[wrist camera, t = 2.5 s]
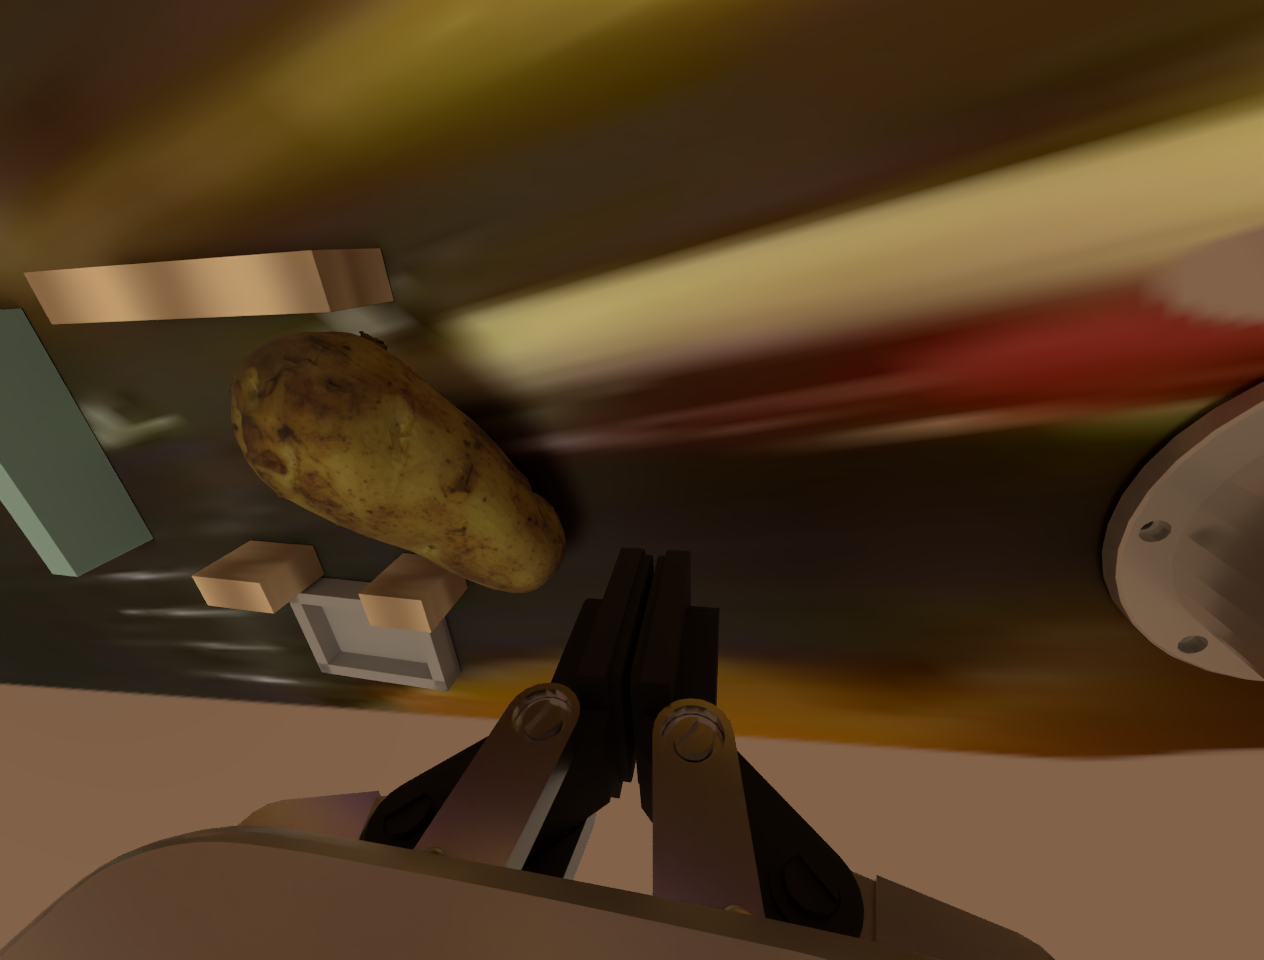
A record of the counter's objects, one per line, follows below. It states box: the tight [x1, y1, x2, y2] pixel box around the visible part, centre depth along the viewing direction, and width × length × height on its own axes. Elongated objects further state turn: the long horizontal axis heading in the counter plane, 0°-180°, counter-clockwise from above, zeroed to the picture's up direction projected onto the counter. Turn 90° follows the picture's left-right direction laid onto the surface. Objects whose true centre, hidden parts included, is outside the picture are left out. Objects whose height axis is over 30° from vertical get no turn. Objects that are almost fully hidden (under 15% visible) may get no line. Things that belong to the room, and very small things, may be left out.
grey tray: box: [289, 577, 461, 691], centre depth 29 cm, size 9×6×2 cm
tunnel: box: [24, 248, 468, 633], centre depth 23 cm, size 14×17×4 cm
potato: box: [230, 331, 566, 593], centre depth 19 cm, size 8×13×8 cm, turn 19°
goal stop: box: [0, 309, 153, 577], centre depth 27 cm, size 2×14×4 cm, turn 3°
